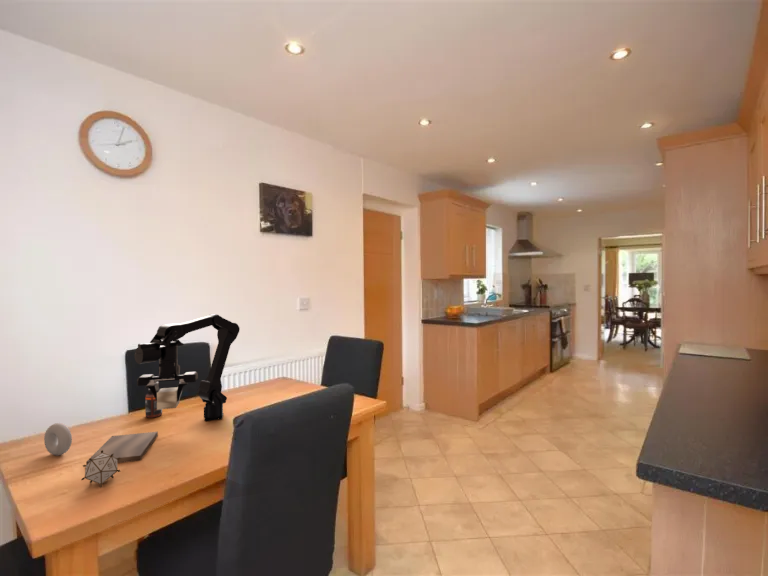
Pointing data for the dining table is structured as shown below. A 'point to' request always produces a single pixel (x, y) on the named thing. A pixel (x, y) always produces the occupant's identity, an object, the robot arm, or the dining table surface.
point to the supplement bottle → (151, 405)
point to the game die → (101, 468)
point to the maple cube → (167, 398)
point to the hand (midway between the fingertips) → (168, 401)
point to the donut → (58, 439)
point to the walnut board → (127, 446)
